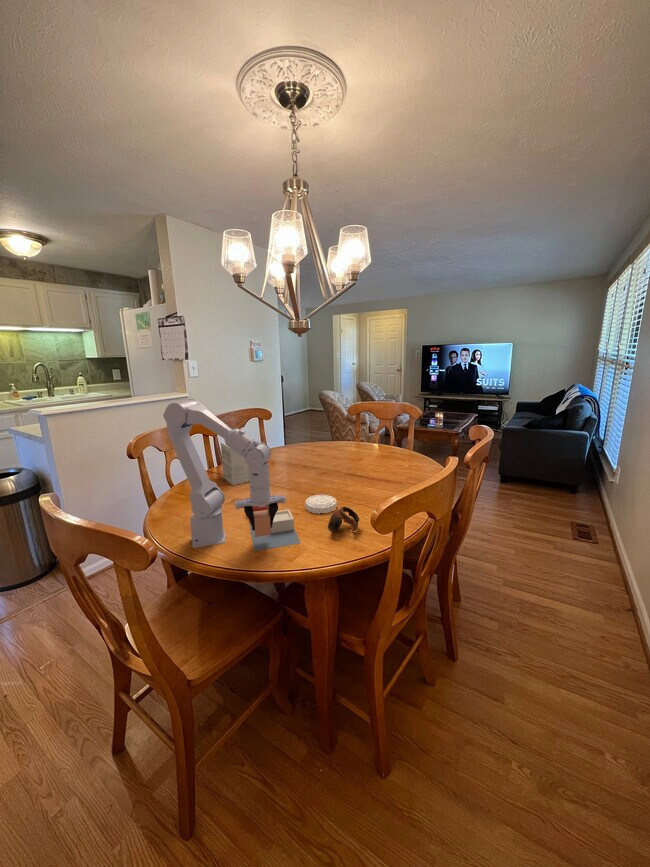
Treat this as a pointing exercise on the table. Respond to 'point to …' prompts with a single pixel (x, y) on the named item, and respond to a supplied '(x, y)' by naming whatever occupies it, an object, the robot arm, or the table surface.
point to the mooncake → (320, 504)
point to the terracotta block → (262, 523)
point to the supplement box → (234, 466)
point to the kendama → (260, 508)
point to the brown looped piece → (339, 515)
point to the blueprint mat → (274, 540)
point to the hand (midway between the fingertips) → (261, 527)
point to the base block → (282, 521)
